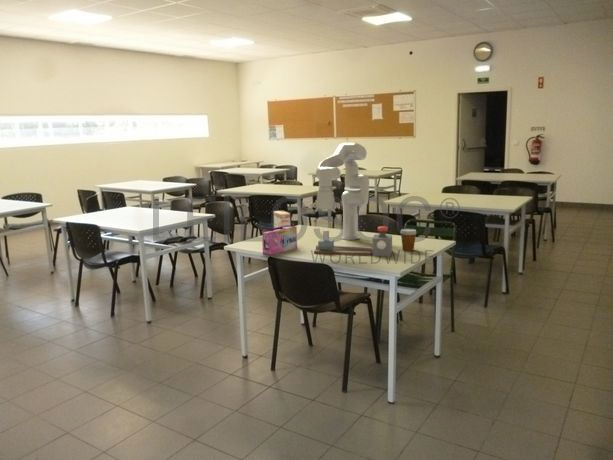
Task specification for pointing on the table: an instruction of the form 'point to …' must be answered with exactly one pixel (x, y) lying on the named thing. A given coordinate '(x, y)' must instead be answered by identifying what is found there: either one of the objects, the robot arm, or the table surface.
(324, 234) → the carriage
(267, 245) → the gum box
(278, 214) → the coffeecake box
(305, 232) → the table surface
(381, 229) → the gauge button
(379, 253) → the gauge cabinet
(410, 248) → the disposable coffee cup
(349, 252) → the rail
